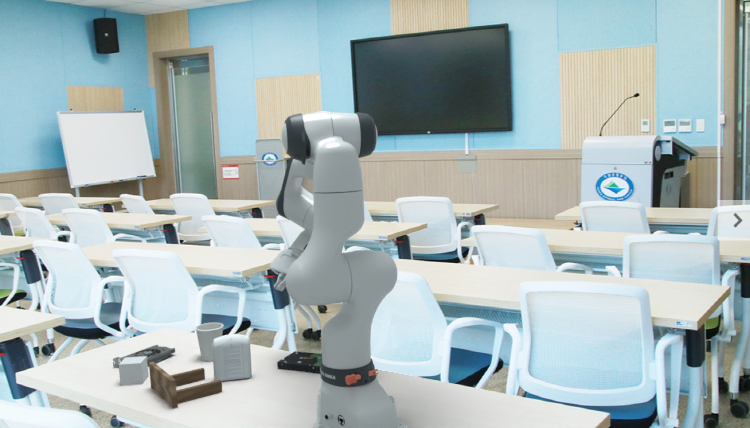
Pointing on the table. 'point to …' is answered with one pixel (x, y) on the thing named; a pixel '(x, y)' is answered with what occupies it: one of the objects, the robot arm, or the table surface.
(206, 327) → the dixie cup
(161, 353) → the graphics card
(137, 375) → the grey cube
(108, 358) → the table surface
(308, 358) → the disk drive
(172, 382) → the dock
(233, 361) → the photo printer
